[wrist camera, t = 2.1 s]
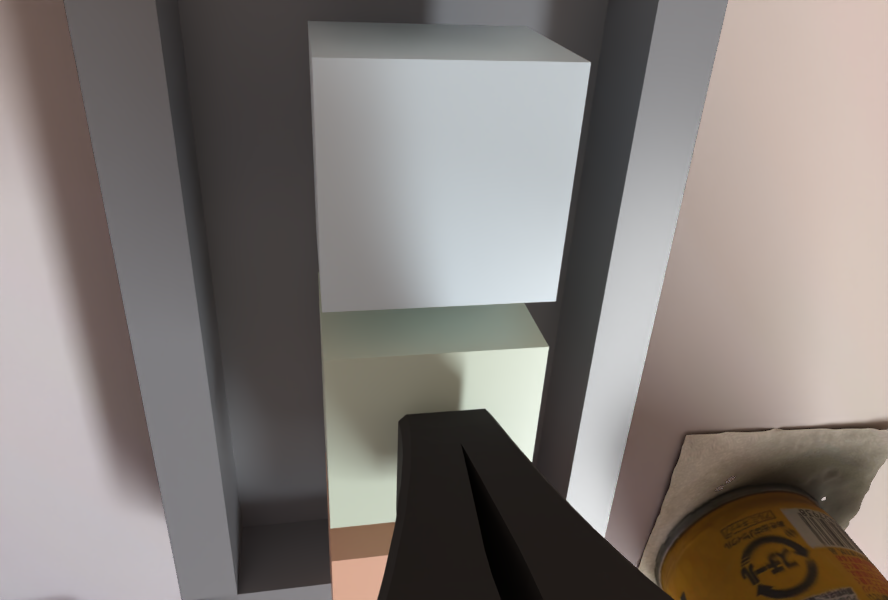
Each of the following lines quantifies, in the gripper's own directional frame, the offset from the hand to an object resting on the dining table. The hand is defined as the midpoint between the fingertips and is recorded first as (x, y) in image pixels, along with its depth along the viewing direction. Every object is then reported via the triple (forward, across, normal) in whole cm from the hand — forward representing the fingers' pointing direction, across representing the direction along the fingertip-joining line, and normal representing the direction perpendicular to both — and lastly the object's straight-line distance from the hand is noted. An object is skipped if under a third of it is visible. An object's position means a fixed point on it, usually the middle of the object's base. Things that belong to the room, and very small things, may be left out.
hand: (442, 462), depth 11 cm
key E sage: (+3, 0, 0) cm, 3 cm away
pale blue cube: (+3, 0, -4) cm, 5 cm away
